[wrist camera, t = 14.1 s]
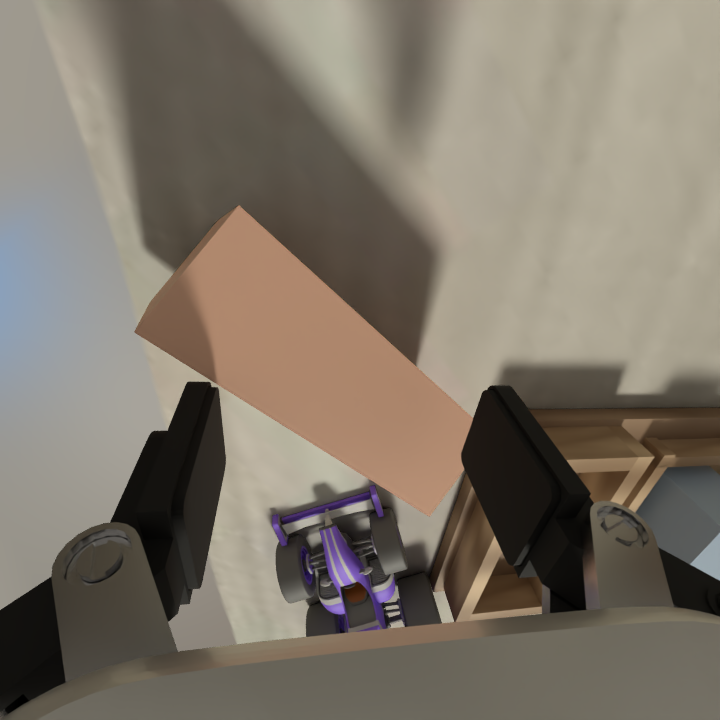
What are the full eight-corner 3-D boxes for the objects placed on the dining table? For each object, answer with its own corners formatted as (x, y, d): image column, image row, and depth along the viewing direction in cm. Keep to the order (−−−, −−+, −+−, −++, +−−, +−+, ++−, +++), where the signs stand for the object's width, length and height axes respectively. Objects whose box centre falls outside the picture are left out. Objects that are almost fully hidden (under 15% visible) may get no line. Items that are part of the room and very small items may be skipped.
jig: (488, 409, 22) (518, 454, 19) (742, 407, 25) (802, 445, 22) (429, 579, 31) (443, 627, 28) (624, 561, 34) (656, 602, 31)
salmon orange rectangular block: (149, 302, 15) (134, 332, 9) (217, 220, 15) (238, 204, 10) (364, 447, 20) (429, 516, 15) (410, 386, 21) (490, 434, 15)
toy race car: (395, 473, 24) (425, 575, 19) (431, 589, 33) (460, 685, 27) (250, 516, 25) (238, 631, 19) (322, 622, 33) (328, 723, 27)
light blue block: (651, 461, 25) (723, 529, 21) (701, 459, 26) (780, 525, 22) (587, 553, 30) (634, 623, 26) (630, 550, 31) (683, 617, 27)
